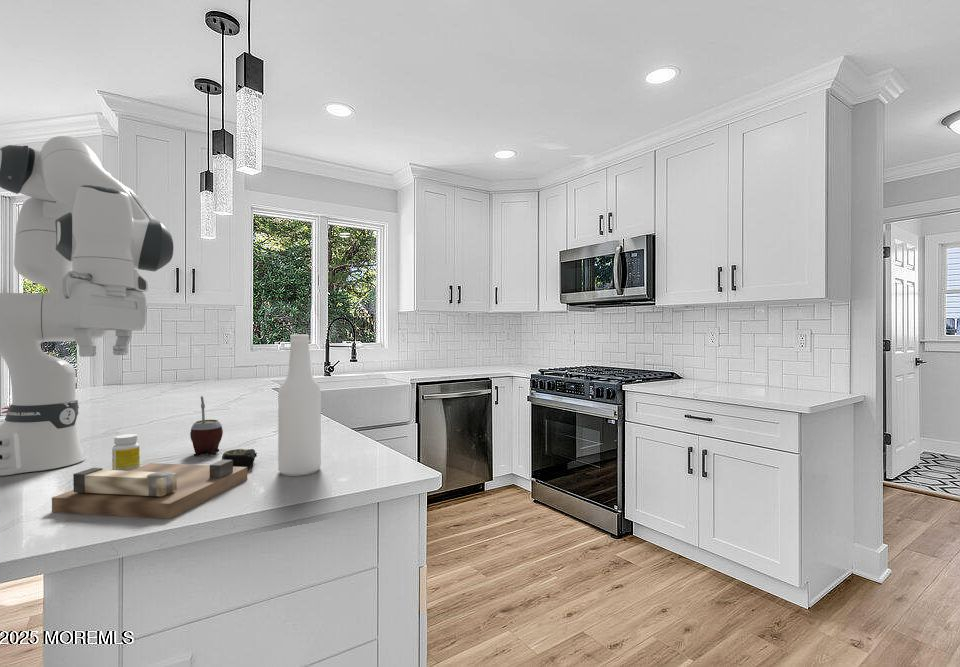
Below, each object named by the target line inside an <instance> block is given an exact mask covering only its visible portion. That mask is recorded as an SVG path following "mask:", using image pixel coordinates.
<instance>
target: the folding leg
mask: <svg viewBox="0 0 960 667" xmlns="http://www.w3.org/2000/svg"><path fill="white" fill-rule="evenodd" d="M72 478H73V480H72V481H73V490H74V492H78V493H104V494H123V495H143V496H164V495H166V494H169V493H172V492H173V491H175V490H177V473H173V472H171V471H162V472H143V471H120V470H112V469H103V468H101V467H91V468H88V469H85V470H81V471H78V472H75V473H73V476H72Z"/></svg>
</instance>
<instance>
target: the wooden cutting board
mask: <svg viewBox="0 0 960 667" xmlns="http://www.w3.org/2000/svg"><path fill="white" fill-rule="evenodd" d="M130 471H143V472H162V471H171V472H173V473H177V490H175V491H173V492H172V493H169V494H166V495H164V496H143V495H123V494H104V493H78V492H74V489H72V490H70V491H67V492H63V493H61V494H58V495H55V496H52V497H51V512H52V513H59V514H60V513H63V514H64V513H65V514H78V515H81V514H82V515H96V516H97V515H99V516H115V517H132V518H148V519H149V518H150V519H151V518H152V519H166V520H167V519H169V520H170V519H172V518H174V517H176V516H178V515H180V514H181V513H184V512H186V511H188V510H190V509H192V508H193V507H194V508H195V506H197V505H199V504H202V503H203V502H206V501H208V500H209V499H211V498H213V497H215V496H217V495H219V494H221V493H223V492H225V491H226V490H228V489H231V488H233V487H235V486H236V485H239V484H240V483H243V482H244V481H246V480H248V467H235V466H233V460H222V459H221V460H218V461H216V462H214V463H211V464H209V465H208V464H207V465H206V464H204V465H203V464H185V463H184V464H183V463H181V464H180V463H161V462H160V463H157V462H149V463H147V464H144V465H142V466H140V467H138V468H135V469H133V470H130Z"/></svg>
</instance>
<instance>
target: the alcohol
mask: <svg viewBox="0 0 960 667" xmlns="http://www.w3.org/2000/svg"><path fill="white" fill-rule="evenodd" d="M289 337H290V340H289V343H290V347H289V348H290V349H289V362H288V372H287V375H286V378H285V379H284V380H283V381H282V383H281V384H280V385H279V390H278V393H277V397H278V398H277V402H278V403H277V404H278V406H277V407H278V410H277V411H278V412H277V413H278V416H277V418H278V419H277V421H278V422H277V425H278V428H277V430H278V433H277V434H278V441H277V442H278V444H277V446H278V447H277V449H278V450H277V452H278V453H277V454H278V456H277V457H278V458H277V460H278V463H277V464H278V469H277V470H278V471H279V472H280V474H281V475H283V476H286V477H304V476H308V475H312V474H315V473H317V472H318V471H319V470H320V468H321V466H322V446H321V445H322V439H321V438H322V419H321V418H322V414H321V413H322V408H321V407H322V404H321V403H322V394H321V393H322V391H321V387H320V385H319V382H317V380H316V379H315V377H313V374H312V368H311V355H310V346H309V345H310V344H309V343H310V340H309V338H310V335H309V334H304V333H303V334H302V333H301V334H299V333H297V334H296V333H295V334H294V333H293V334H290V335H289Z"/></svg>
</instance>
